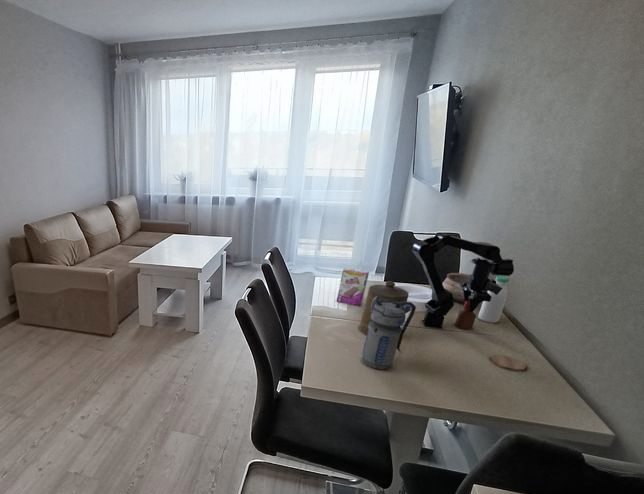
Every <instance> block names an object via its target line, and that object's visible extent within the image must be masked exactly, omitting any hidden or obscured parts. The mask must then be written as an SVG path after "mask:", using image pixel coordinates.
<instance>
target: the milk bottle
mask: <svg viewBox="0 0 644 494" xmlns="http://www.w3.org/2000/svg"><path fill="white" fill-rule="evenodd" d="M494 280H495V281H496V284H497V285H499V286H500V287H502V288H503V289H502V290H501V291H500V292H499V293H498V295H496V294H494V293H493V292H491V291H487V292H488V293H489V294H490V295H491V297H492V298H491V301H490V302H488V301H483V302H481V303H482V304H481V306H480V309H479V312H478V315H477V318H478V319H479V320H480V321H483V322H486V323H492V324H494V323H495V324H496V323H498V322H499V320H500V318H501V316H502V313H503V310H504V307H505V305H506V302H507V298H508V290H507V284H508V283H509V281H510V278H509V277H508V276H499V275H496V277H495V279H494Z"/></svg>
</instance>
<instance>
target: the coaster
mask: <svg viewBox="0 0 644 494" xmlns="http://www.w3.org/2000/svg"><path fill="white" fill-rule="evenodd" d="M490 360H491V362H492V363H493V364H494V365H496V366H497V367H500V368H502V369H505V370H509V371H513V372H523V371H525V370H526V368H527V365H526V364H525V362H523V361H521V360H519V359H517V358H514V357H511V356H507V355H500V354H499V355H498V354H497V355H493V356H491V359H490Z"/></svg>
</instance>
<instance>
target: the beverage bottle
mask: <svg viewBox="0 0 644 494" xmlns="http://www.w3.org/2000/svg"><path fill="white" fill-rule="evenodd" d="M391 302H392V303H389V300H379V296H376V297H375V298H374V299H373V300H372V304H371V312H372V314H371V319H372V321H371V322H370V323H369V327H368V332H367V334H366V337H365V341H364V346H363V350H362V354H361V360H362V362H363V363H364V364H365V365H366V366H368V367H370V368H373V369H378V370H387V369H390V368H391V367H392V366H393V363H394V360H395V356H396V352H397V351H398V352H399V353H400V354H401V353H402V352H401V349H400V348H401V344H402V340H403V338H404V334H405V332H406V331H407V328H408V327H409V324H410V322H411V321H412V319H413V317H414V315H415V312H416V311H415V309H416V306H415V305H414V304H413V303H411V302H406V301H403V302H394V301H391ZM400 305H403V307H401V306H400ZM411 307H412V308H411ZM410 310H411V311H410ZM408 313H409V314H408ZM406 314H408V316H407V318H406ZM401 326H402V327H401Z"/></svg>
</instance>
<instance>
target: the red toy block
mask: <svg viewBox="0 0 644 494" xmlns="http://www.w3.org/2000/svg"><path fill="white" fill-rule="evenodd" d="M464 309H465V310H468V311H470V310H469V301H465V304H463V310H464Z"/></svg>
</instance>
